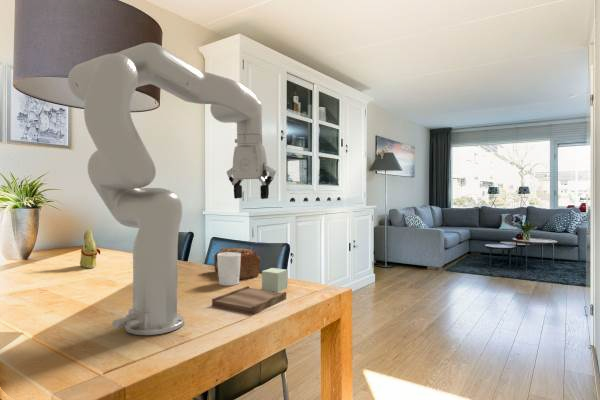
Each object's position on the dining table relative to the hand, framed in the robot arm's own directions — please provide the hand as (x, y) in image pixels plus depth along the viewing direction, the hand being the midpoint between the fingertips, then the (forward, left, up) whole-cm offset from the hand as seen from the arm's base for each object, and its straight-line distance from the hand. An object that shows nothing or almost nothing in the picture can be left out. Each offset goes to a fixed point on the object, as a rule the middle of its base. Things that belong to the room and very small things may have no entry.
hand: (251, 198), depth 113 cm
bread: (+20, +21, -30) cm, 41 cm away
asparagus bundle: (0, +79, -29) cm, 84 cm away
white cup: (+7, +14, -29) cm, 33 cm away
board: (-7, -5, -29) cm, 30 cm away
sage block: (+9, -3, -29) cm, 31 cm away
